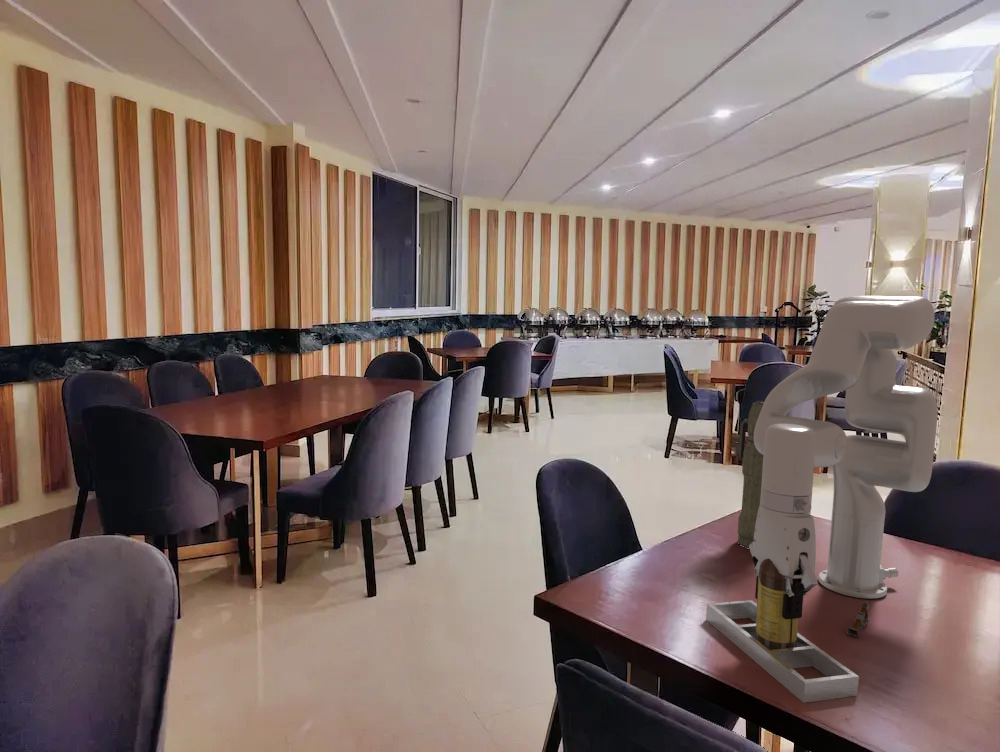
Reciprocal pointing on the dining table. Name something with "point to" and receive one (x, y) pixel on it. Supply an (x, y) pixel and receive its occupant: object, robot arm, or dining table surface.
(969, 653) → the dining table surface
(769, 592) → the sauce bottle
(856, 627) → the wooden post with brackets
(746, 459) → the thermos
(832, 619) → the dining table surface
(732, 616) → the rack with square compartments
